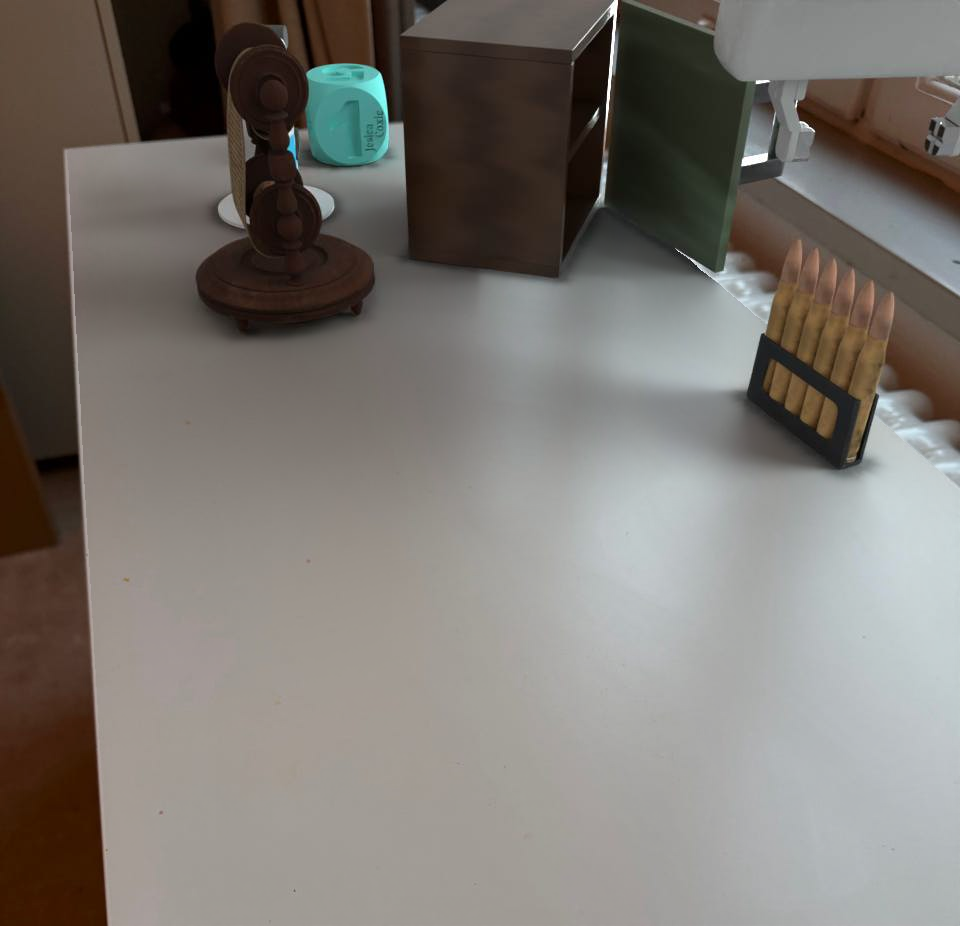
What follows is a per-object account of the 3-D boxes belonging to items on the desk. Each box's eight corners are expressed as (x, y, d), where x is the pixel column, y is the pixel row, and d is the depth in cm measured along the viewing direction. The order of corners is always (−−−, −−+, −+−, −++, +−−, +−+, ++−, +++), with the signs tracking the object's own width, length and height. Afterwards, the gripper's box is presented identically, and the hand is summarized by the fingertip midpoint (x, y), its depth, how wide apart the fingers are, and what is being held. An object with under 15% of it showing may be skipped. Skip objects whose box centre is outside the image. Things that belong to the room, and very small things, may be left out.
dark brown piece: (189, 275, 91) (139, 16, 77) (352, 253, 94) (332, 2, 81) (215, 352, 81) (163, 70, 67) (397, 324, 84) (383, 51, 71)
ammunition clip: (745, 395, 77) (778, 235, 68) (765, 390, 77) (800, 230, 69) (840, 469, 70) (890, 300, 61) (862, 463, 70) (914, 295, 62)
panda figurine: (324, 235, 97) (306, 58, 87) (205, 232, 98) (173, 56, 87) (341, 188, 106) (327, 22, 96) (232, 185, 106) (206, 20, 96)
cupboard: (600, 204, 103) (617, -3, 91) (558, 278, 91) (572, 50, 78) (466, 188, 106) (466, -15, 94) (408, 258, 94) (399, 35, 81)
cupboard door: (667, 191, 106) (692, -9, 94) (783, 256, 94) (829, 38, 82) (603, 204, 103) (621, 0, 91) (714, 273, 92) (752, 50, 79)
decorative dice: (316, 169, 110) (308, 87, 104) (308, 144, 116) (300, 65, 110) (390, 163, 111) (386, 82, 106) (379, 139, 117) (374, 61, 111)
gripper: (1094, -140, 55) (1001, 133, 65) (729, -140, 53) (688, 144, 63) (1168, -123, 51) (1056, 168, 60) (772, -122, 49) (720, 181, 58)
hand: (866, 156), depth 61 cm, fingers open, 8 cm apart
